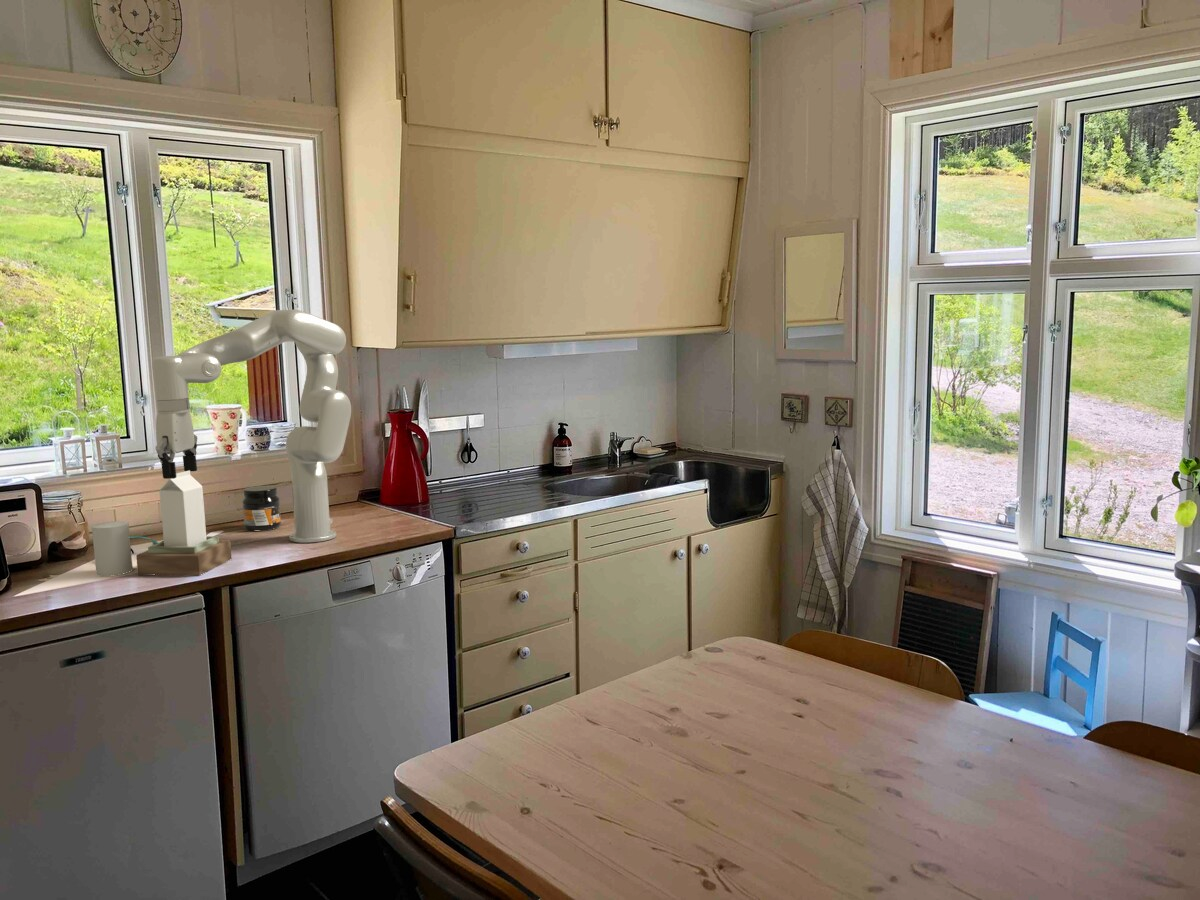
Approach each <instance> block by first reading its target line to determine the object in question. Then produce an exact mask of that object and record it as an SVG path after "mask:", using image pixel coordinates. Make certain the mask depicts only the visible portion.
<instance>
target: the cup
mask: <svg viewBox="0 0 1200 900" xmlns="http://www.w3.org/2000/svg"><path fill="white" fill-rule="evenodd" d="M91 532H92V533H91V534H92V543H93V551H94V552H93V554H94V563H95V565H94V566H95V574H97V575H96V576H98V575H99V577H112V576H111V575H115V576H119V575H118V574H121V575H124V574H123V573H125V574H127V573H126V572H128V573H130V572H129V571H131V570H132V569H133V559H132V552H131V549H132V546H131V539H130V537H131V536H130V526H129V521H126V520H113V521H105V522H104V521H103V522H99V523H95V524H92V525H91ZM133 570H134V569H133ZM133 570H132V571H133ZM132 571H131V572H132Z"/></svg>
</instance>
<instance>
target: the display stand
mask: <svg viewBox="0 0 1200 900" xmlns="http://www.w3.org/2000/svg"><path fill="white" fill-rule="evenodd" d="M206 539H207V540H206V541H204V542H201V543H199V544H197V545H195V546H193V547H186V546H164V540H163V541H160V542H158V543H157V544H155V545H153V544H152V545H150V546H148V547H147V550H145V551H143V552H141V553H138V554H135V558H136V568H137V575H138V574H155V575H154V576H184V575H200V576H202V575H204V574H206V573H208V572H210V571H211V570H214V569H215V567H216V568H218V567H219V566H221V565H223V564H225V563H227V562H229V561H231V560H232V559H233V558H232V545H231V540H230V539H228V540H226V539H225V540H223V539H221V540H220V539H219V536H217V535H215V536H210V535H209V536H207V535H206ZM230 559H231V560H230ZM228 560H229V561H228ZM226 561H227V562H226ZM213 568H214V569H213ZM209 570H210V571H209ZM205 572H206V573H205ZM203 573H204V574H203ZM201 574H202V575H201Z"/></svg>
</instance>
